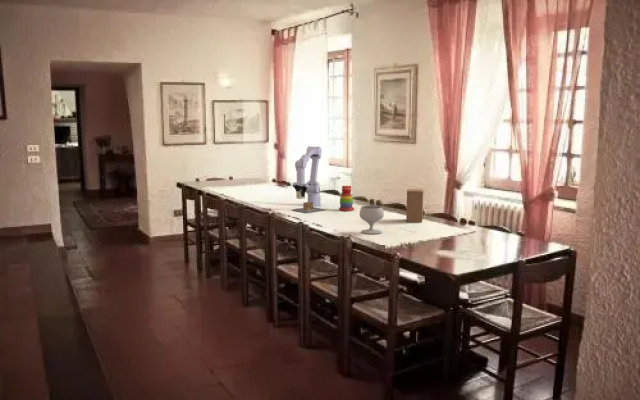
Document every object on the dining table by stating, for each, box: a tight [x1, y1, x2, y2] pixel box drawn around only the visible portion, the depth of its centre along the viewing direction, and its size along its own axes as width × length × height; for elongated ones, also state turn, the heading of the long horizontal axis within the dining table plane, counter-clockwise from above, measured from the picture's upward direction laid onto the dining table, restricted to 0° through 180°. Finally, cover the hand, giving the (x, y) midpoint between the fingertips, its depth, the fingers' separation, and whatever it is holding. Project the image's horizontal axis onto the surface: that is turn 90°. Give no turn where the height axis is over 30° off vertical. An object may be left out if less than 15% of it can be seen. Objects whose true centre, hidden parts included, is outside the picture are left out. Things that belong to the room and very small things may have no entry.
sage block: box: [295, 190, 306, 200], centre depth 401 cm, size 4×4×5 cm
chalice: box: [359, 204, 385, 235], centre depth 325 cm, size 14×14×15 cm
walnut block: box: [302, 201, 314, 210], centre depth 400 cm, size 5×5×5 cm
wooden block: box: [405, 188, 424, 223], centre depth 359 cm, size 10×10×20 cm
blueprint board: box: [291, 206, 326, 214], centre depth 401 cm, size 18×16×1 cm
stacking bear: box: [338, 185, 355, 212], centre depth 399 cm, size 11×10×18 cm
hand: (300, 196), depth 401 cm, fingers closed on sage block, 4 cm apart
